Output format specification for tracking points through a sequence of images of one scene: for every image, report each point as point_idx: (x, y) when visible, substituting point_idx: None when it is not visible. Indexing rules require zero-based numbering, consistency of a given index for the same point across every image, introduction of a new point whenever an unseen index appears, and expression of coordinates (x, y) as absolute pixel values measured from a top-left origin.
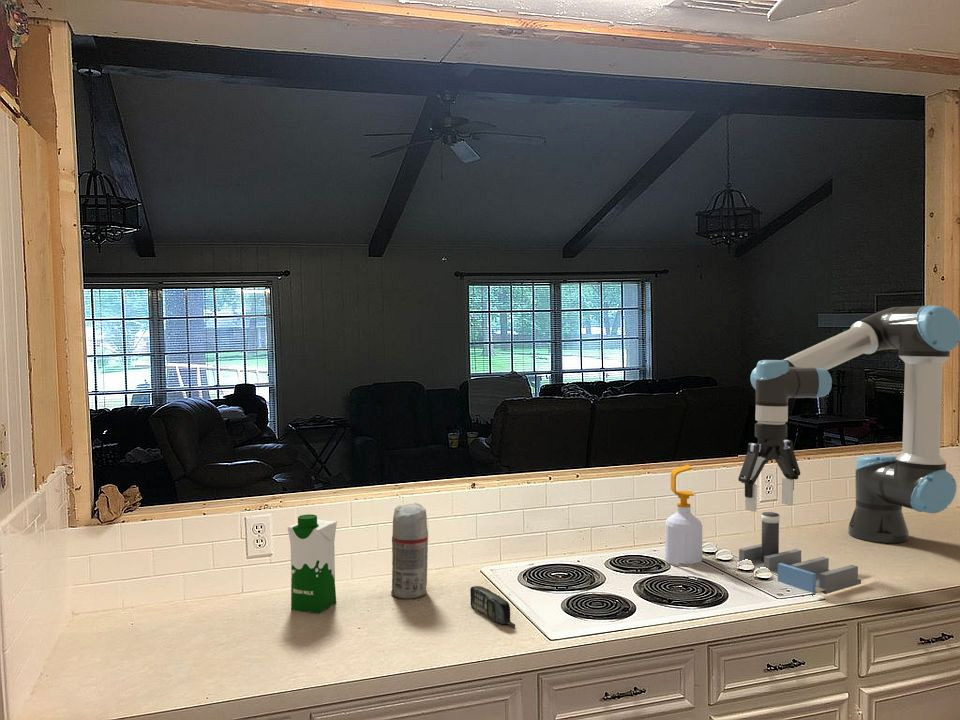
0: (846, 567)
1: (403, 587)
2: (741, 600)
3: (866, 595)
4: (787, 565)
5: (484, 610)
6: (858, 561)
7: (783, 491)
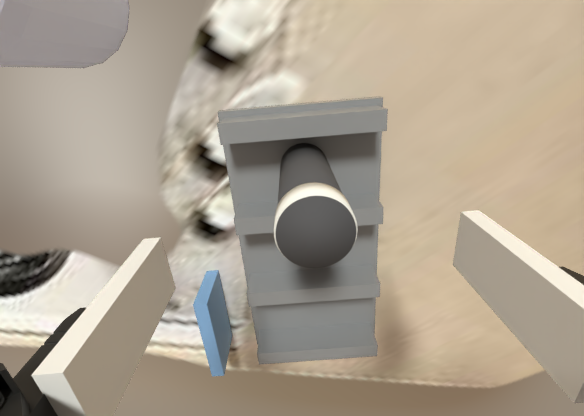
0: (347, 351)
1: None
2: (72, 299)
3: (320, 364)
4: (206, 322)
5: None
6: (528, 238)
7: (507, 263)
